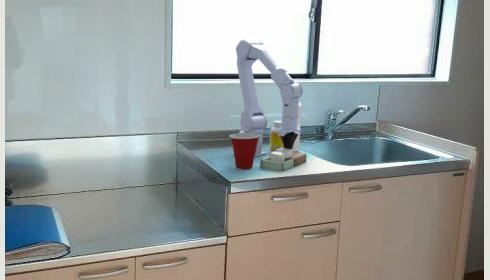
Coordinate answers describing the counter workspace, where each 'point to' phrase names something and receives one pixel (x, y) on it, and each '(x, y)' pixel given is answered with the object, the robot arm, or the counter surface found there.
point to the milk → (296, 143)
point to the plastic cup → (244, 149)
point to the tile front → (277, 157)
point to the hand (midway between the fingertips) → (287, 152)
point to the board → (297, 158)
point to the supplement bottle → (275, 137)
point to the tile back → (284, 150)
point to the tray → (276, 164)
